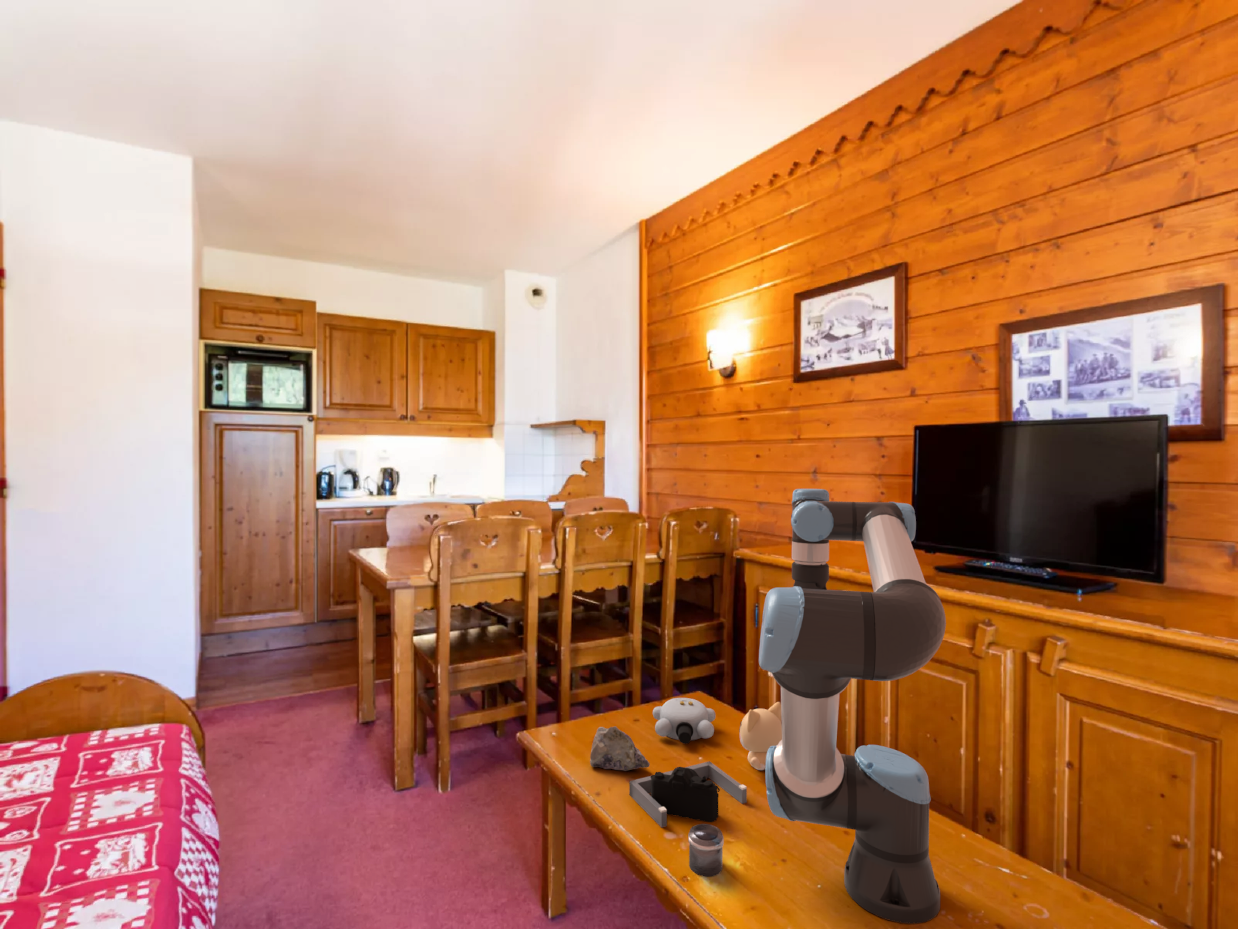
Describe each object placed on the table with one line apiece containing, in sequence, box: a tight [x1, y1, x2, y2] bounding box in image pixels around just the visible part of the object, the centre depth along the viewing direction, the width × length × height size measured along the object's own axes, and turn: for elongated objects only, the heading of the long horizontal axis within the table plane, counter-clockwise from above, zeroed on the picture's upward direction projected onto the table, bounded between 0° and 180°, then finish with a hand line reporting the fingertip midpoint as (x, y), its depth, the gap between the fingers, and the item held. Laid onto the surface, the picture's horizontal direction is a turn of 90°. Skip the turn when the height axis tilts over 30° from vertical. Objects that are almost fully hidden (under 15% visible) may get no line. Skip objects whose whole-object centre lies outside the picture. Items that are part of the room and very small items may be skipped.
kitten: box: [738, 701, 782, 771], centre depth 154 cm, size 15×10×15 cm
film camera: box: [650, 766, 721, 823], centre depth 135 cm, size 15×10×9 cm, turn 70°
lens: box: [687, 823, 725, 878], centre depth 115 cm, size 6×6×6 cm
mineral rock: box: [589, 726, 650, 772], centre depth 151 cm, size 13×11×10 cm
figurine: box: [652, 697, 716, 745], centre depth 172 cm, size 17×8×20 cm
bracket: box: [628, 761, 748, 828], centre depth 138 cm, size 14×21×3 cm, turn 117°
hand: (809, 673), depth 133 cm, fingers closed
